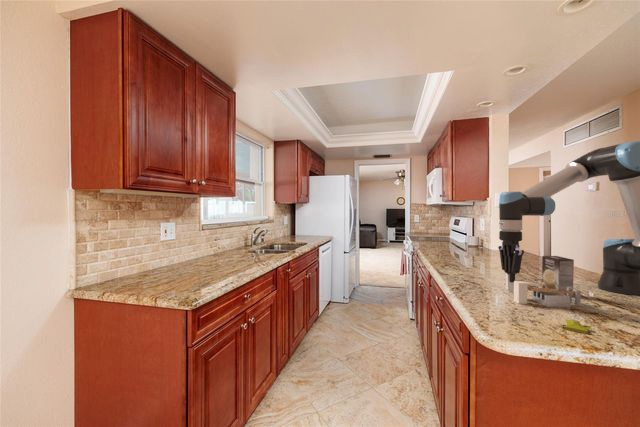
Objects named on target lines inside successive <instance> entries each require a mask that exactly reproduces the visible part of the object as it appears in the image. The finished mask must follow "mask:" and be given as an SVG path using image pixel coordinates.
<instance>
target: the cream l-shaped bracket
mask: <svg viewBox="0 0 640 427" xmlns="http://www.w3.org/2000/svg"><path fill="white" fill-rule="evenodd" d="M528 286H533V287H535V286H538V287H539V286H540V283H539V282H536V281H535V280H534V281H533V280H532V281H531V280H529V281H528V280H527V281H526V280H515V281H514V290H513V302H514V303H517V304H518V305H528V289H527V287H528Z"/></svg>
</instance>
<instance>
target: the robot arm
mask: <svg viewBox="0 0 640 427" xmlns="http://www.w3.org/2000/svg"><path fill="white" fill-rule="evenodd" d="M601 176H608V179H609V181H610V182H611V183H613V184H616V185H617V189H618V191H619V194H620V198H621V200H622V203H623V206H624V208H625V209H624V210H625V211H626V213H627V216H628V217H627V218H628V220H629V223H630V226H631V229H632V231H633V234H634V238H611V239H610V238H609V239H608V238H607V239H606V240H604V242H603V247H602V262H603V265H602V267H603V268H602V269H603V270H602V272H601V276H600V277H599V280H598V281H597V288H598V289H599V290H604V291H606V292H610V293H611V292H612V293H615V294H616V293H617V294H623V295H629V296H630V295H631V296H633V295H634V296H640V140H636V141H634V140H633V141H627V142H622V143H619V144H612V145H609V146H606V147H600V148H597V149H594V150H592V151H589V152H587V153H585V154H583V155H581V156H580V157H577V158H576V159H574V160H573V161H571V162H569V163H567V164H566V166H565V168H562V170H559V171H558V172H556V173H554V174H552V175H550V176H548V177H547V178H544V179H543V180H542V181H539V182H538V183H536V184H534V185H532V186H530V187H529V188H527V189H526V190H525V189H524V191H503V192H501V193H500V194H499V199H498V200H499V201H498V208H499V214H498V216H499V218H498V219H499V222H498V225H499V232H498V233H499V234H498V238H499V240H500V241H502V242H501V244H502V245H498V246H497V247H498V250H499V256H500V264H501V265H500V266H501V269H502V271H504V273H505V290H506V291H514V281H516V275H518V274H520V271H521V265H522V260H523V255H524V254H525V250H524V249H520V243H519V242H522V240H523V231H522V230H523V217H525V216H530V217H531V216H535V217H536V216H539V217H540V216H541V217H543V216H550V215H553V213H554V212H555V210H556V202H555V200H554V199H553V197H552V196H554V195H556V194H558V193H560V192H561V191H563V190H566V189H567V188H568V187H570V186H572V185H574V184H576V183H583V182H584V181H587V180H588V179H591V178H596V177H601Z"/></svg>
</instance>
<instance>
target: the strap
mask: <svg viewBox="0 0 640 427" xmlns="http://www.w3.org/2000/svg"><path fill="white" fill-rule="evenodd" d="M528 290H529V291H531V292H532V291H545V292H557V293H569V294H573V295H575V290H574V289H573V290H558V289H546V288H542V287H534V286H533V287H532V286H527V291H528Z"/></svg>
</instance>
